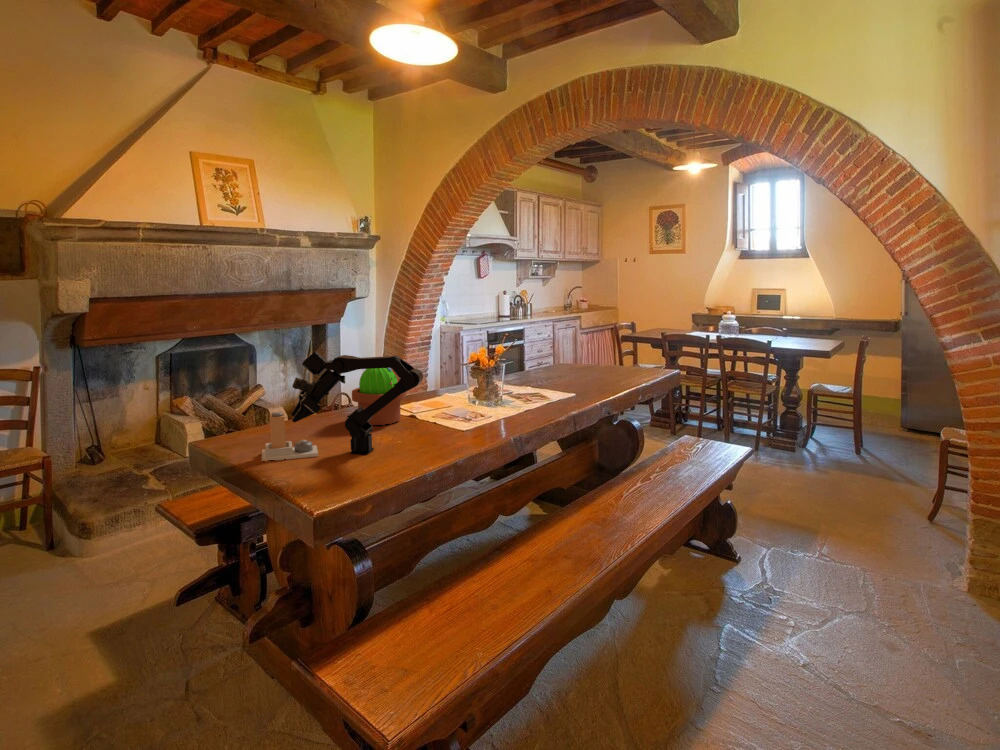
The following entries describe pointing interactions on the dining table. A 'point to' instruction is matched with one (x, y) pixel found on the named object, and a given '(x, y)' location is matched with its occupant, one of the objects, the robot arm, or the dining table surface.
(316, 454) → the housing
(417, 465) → the dining table surface
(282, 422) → the block
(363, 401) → the potted cactus
